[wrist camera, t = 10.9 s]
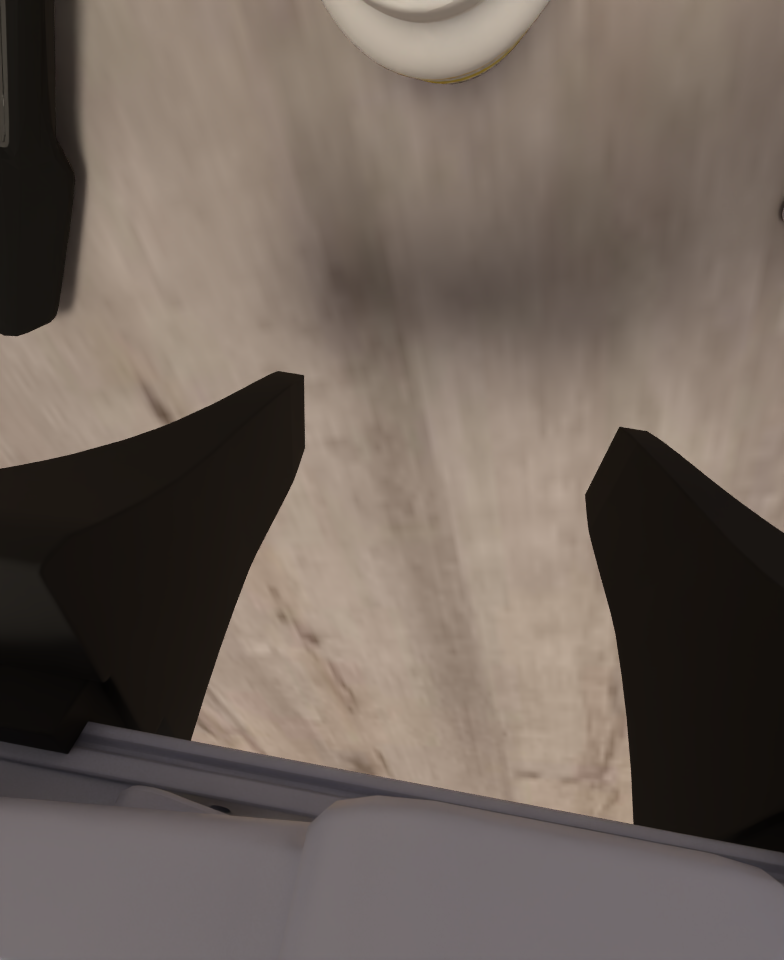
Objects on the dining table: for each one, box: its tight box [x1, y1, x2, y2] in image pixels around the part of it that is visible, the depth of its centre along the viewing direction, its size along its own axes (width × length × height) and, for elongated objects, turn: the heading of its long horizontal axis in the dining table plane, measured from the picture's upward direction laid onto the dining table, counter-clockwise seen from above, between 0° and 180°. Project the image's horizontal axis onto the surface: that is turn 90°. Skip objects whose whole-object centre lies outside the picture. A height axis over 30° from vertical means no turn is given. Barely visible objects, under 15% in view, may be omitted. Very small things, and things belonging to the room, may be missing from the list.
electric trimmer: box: [0, 0, 75, 336], centre depth 16 cm, size 4×16×3 cm, turn 155°
